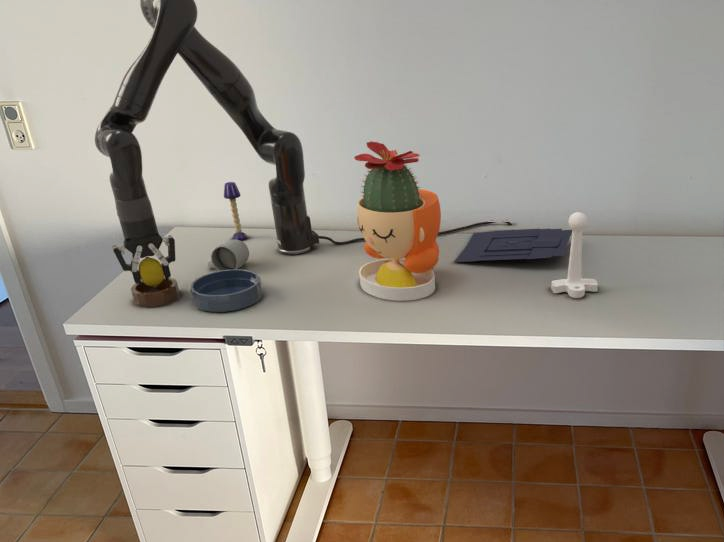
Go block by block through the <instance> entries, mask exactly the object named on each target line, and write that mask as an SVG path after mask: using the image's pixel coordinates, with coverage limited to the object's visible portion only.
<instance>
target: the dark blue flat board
mask: <svg viewBox="0 0 724 542" xmlns="http://www.w3.org/2000/svg"><path fill="white" fill-rule="evenodd" d="M571 237H572V229H563V228H523V229H506V230H505V229H503V230H501V229H500V230H491V231H479V232H473V234H472V235H471V237H470V239H469V241H468V242H467V244H466V246H465V247H464V248H463V250H461V252H460V253H459V255H458V256H457V257H456V259H454V261H453V262H454V263H463V262H464V263H467V262H480V261H481V262H482V261H503V260H504V261H505V260H507V261H508V260H536V259H537V260H538V259H551V258H552V257H563V256H565V254H566V251H567V248H568V245H569V241H570V239H571Z"/></svg>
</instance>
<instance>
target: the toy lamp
mask: <svg viewBox="0 0 724 542" xmlns="http://www.w3.org/2000/svg"><path fill="white" fill-rule="evenodd" d="M240 197H241V192H240V190H239V187H238V186H237V184H236V182H234V181H228V182H225V183H224V185H223V198H224V199H227V200H229V202H230V204H229V205H230V207H231V209H230V210H231V213H232V214H231V216H232V219H233V223H234V225H233V226H234V228H235V233H233V235H232V240H233V239H237V240H240V241H244V240H245V241H246V240H247V239H248V236H247V234H246V233H245V232H243V230H242V227H241V226H242V224H241V220H240V218H239V215H240V214H239V209H238V204H237V199H238V198H240Z"/></svg>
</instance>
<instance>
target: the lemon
mask: <svg viewBox="0 0 724 542" xmlns="http://www.w3.org/2000/svg"><path fill="white" fill-rule="evenodd" d="M161 264H162V263H161V262H160V260H157V259H155V258H154V257H150V256H147V257H145V258H142V259H141V260H140V261H139V264H138V271H139V275H140V278H141V281H143V283H145V284H146V285H148V286H152V287H154V288H156V287H157V286H158V285H159V284H160V283H161V282H162V281H163V279H164V271H163V268H162V265H161Z"/></svg>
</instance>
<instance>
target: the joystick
mask: <svg viewBox="0 0 724 542" xmlns="http://www.w3.org/2000/svg"><path fill="white" fill-rule="evenodd" d="M568 226H569V228H570V230H572V234H571V242H570V249H569V250H570V251H569V259H568V266H567V276H566V278H561V279H554V280H552V281H551V284H550V285H551V286H550V287H551V288H550V291H551V292H552V293H553V294H559V293H567V294H568V296H569V297H570V298H572V299H581V298H583V297H584V296H585V294H586V292H594V293H596V292H598V288H599V287H598V286H599V283H598V282H597V279H595V278H583V231H584V229H586V227H587V226H588V217H587V215H585V214H584V213H583V212H580V211H576V212H573V213H572V214H571V215H570V216H569V218H568Z"/></svg>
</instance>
